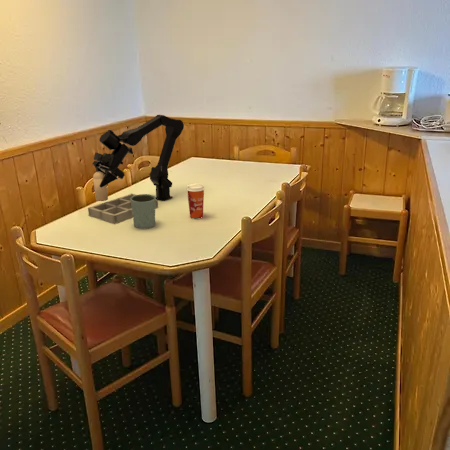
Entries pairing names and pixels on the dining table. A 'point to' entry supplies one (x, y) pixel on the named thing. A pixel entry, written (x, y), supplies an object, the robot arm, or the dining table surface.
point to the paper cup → (195, 200)
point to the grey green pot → (143, 210)
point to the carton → (114, 210)
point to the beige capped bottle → (99, 191)
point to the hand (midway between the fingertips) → (97, 185)
